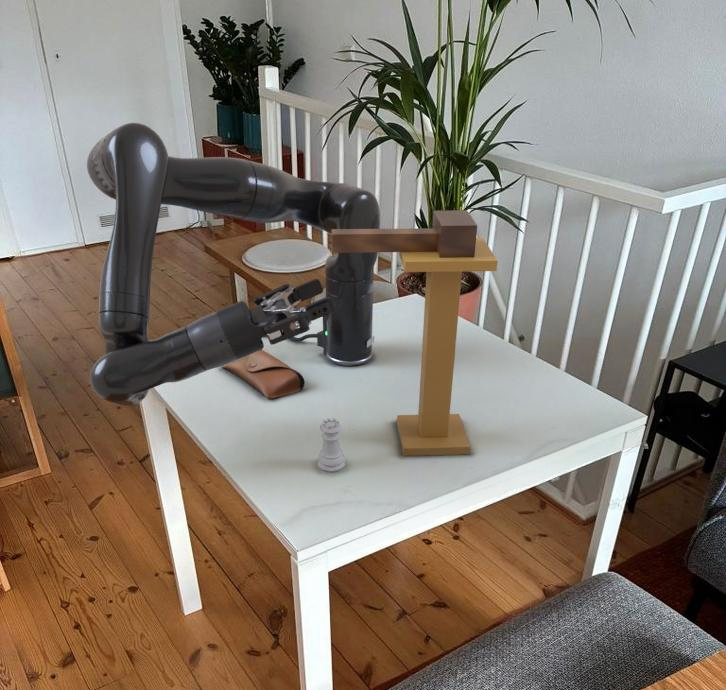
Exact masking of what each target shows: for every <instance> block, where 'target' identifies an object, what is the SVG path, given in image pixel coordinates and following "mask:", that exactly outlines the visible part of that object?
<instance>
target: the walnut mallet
mask: <svg viewBox="0 0 726 690" xmlns="http://www.w3.org/2000/svg"><path fill="white" fill-rule="evenodd" d="M432 214H433V216H432V227H430V228H421V227H420V228H380V229H331V234H330V235H331V253H332V254H338V253H365V252H378V253H398V252H437V253H438V255H439V257H440V258H450V257H475V246H476V238H477V237H478V236H477V235H478V225H477V223H476V222H475V220H474V219H473V217H472V216H471V214H470V213H469V211H468V210H467V209H465V210H464V209H463V210H461V209H460V210H459V209H458V210H455V209H454V210H433V211H432Z"/></svg>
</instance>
